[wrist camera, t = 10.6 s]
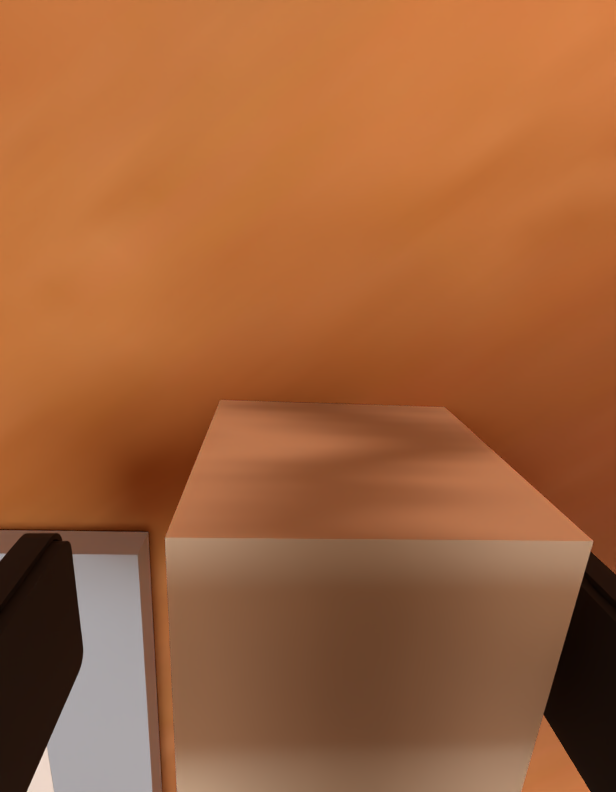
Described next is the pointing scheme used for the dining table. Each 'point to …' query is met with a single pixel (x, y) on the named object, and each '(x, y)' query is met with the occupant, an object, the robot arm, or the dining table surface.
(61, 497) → the dining table surface
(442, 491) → the birch block
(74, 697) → the board
